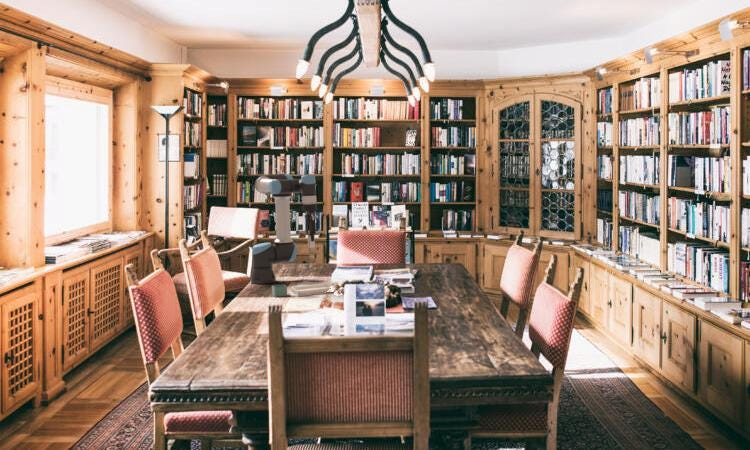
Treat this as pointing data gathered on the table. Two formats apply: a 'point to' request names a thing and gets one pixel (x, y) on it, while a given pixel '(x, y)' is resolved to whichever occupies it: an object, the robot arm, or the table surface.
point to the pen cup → (279, 290)
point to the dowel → (311, 250)
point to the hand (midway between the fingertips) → (311, 246)
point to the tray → (311, 289)
